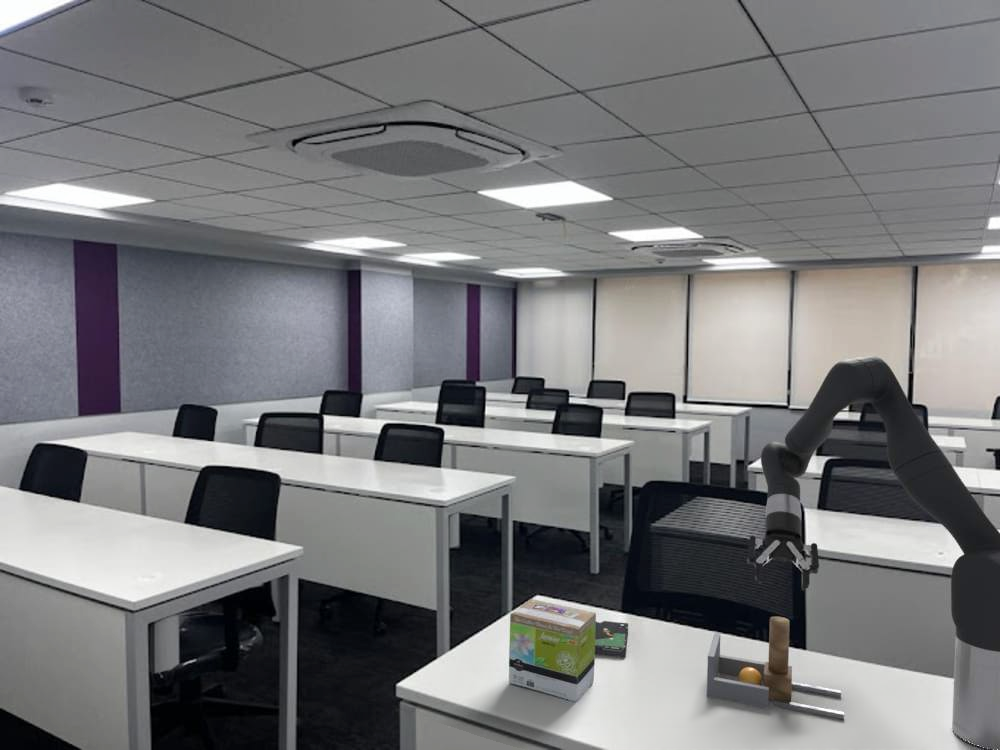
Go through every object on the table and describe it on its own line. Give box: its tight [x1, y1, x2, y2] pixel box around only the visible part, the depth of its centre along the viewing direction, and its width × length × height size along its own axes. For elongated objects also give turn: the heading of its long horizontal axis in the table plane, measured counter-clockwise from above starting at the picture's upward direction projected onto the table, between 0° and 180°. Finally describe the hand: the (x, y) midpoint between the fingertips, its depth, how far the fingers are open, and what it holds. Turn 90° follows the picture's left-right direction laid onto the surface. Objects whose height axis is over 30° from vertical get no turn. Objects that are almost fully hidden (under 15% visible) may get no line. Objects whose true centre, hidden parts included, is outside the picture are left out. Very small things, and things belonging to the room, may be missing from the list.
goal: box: [706, 632, 769, 709], centre depth 141 cm, size 11×12×8 cm
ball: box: [738, 667, 763, 686], centre depth 140 cm, size 4×4×4 cm
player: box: [763, 616, 793, 702], centre depth 138 cm, size 5×6×15 cm
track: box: [773, 681, 845, 720], centre depth 136 cm, size 12×10×1 cm
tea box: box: [508, 598, 597, 703], centre depth 141 cm, size 15×10×15 cm, turn 62°
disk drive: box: [595, 620, 629, 659], centre depth 162 cm, size 10×3×15 cm
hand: (782, 585), depth 148 cm, fingers open, 8 cm apart
